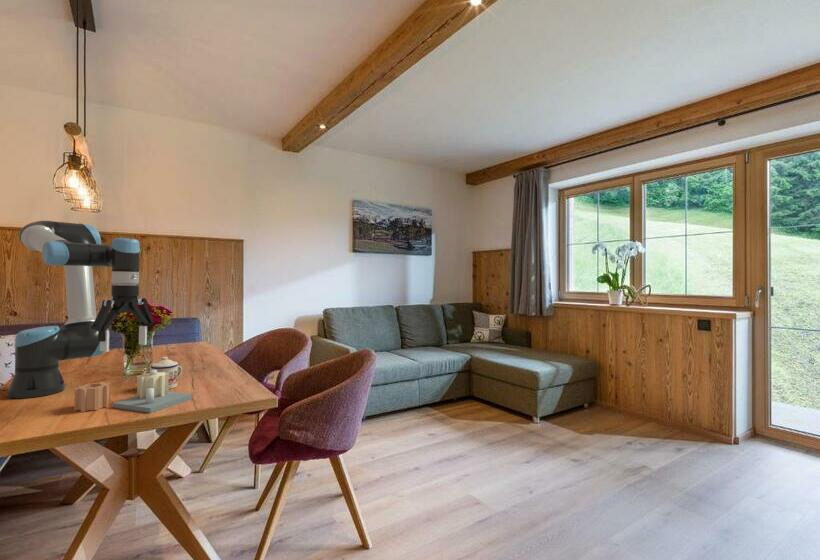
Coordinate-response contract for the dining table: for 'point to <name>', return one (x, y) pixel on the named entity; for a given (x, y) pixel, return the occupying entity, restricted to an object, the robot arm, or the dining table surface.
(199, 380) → the dining table surface
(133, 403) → the gear board
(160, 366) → the teacup with lid
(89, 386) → the loose gear
